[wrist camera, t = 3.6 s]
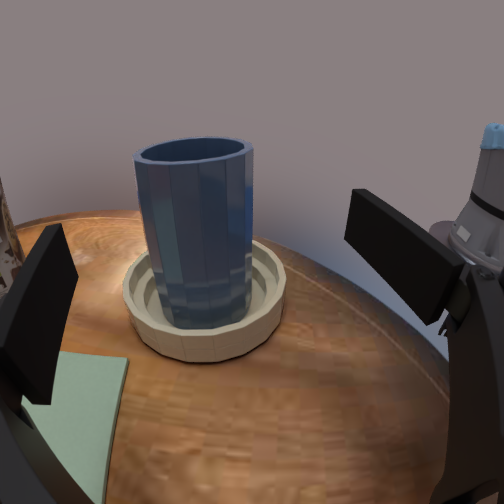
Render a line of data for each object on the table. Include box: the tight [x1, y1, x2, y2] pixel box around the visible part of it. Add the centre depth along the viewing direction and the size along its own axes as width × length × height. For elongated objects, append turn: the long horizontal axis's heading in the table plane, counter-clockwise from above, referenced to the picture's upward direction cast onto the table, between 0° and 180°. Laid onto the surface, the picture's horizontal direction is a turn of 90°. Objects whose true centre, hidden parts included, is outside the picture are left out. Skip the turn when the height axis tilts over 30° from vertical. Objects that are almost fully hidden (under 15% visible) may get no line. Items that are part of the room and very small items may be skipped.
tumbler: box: [132, 136, 253, 330], centre depth 23 cm, size 8×8×14 cm
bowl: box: [123, 240, 286, 362], centre depth 26 cm, size 14×14×4 cm
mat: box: [21, 351, 129, 504], centre depth 12 cm, size 20×20×1 cm
